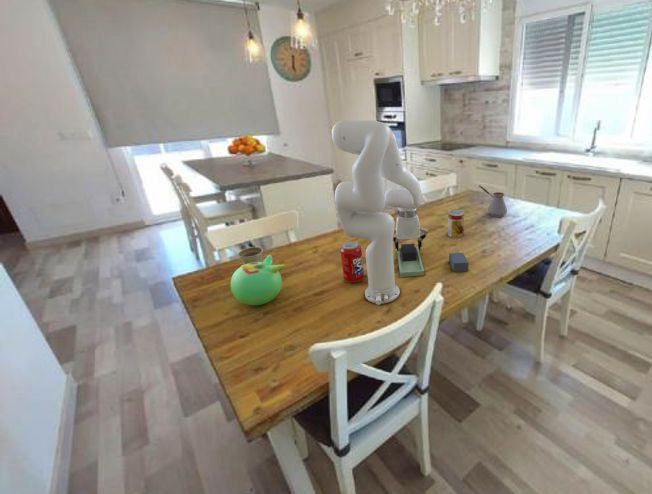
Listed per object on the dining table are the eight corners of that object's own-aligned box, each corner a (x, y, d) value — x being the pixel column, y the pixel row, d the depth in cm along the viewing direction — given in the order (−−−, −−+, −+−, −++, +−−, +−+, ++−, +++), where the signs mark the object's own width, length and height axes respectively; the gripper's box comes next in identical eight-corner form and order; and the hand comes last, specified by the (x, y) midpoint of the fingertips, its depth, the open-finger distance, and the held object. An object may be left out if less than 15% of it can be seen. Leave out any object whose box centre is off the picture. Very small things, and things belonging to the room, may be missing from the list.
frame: (424, 275, 128) (424, 270, 128) (400, 277, 127) (400, 272, 127) (417, 250, 149) (417, 246, 148) (397, 251, 148) (397, 247, 147)
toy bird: (229, 298, 116) (218, 262, 110) (276, 280, 127) (268, 247, 121) (246, 321, 104) (235, 282, 98) (296, 299, 115) (288, 263, 109)
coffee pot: (510, 215, 189) (513, 190, 183) (498, 219, 183) (500, 194, 176) (483, 206, 204) (484, 183, 198) (470, 210, 198) (472, 186, 192)
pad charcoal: (416, 260, 139) (416, 252, 137) (402, 261, 138) (402, 253, 136) (414, 251, 147) (414, 243, 145) (401, 252, 146) (400, 244, 145)
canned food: (466, 236, 162) (467, 214, 157) (452, 238, 160) (452, 216, 155) (458, 230, 169) (459, 209, 164) (445, 233, 166) (445, 211, 161)
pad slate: (467, 270, 131) (468, 262, 129) (453, 272, 130) (453, 263, 129) (462, 260, 139) (463, 252, 137) (449, 261, 138) (449, 253, 137)
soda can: (342, 275, 129) (338, 242, 123) (362, 272, 131) (358, 239, 125) (345, 285, 122) (341, 250, 116) (366, 281, 125) (362, 247, 118)
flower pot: (267, 262, 140) (263, 245, 136) (266, 273, 132) (262, 254, 128) (243, 267, 137) (239, 249, 133) (241, 277, 129) (236, 258, 125)
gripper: (386, 217, 130) (389, 254, 137) (429, 214, 132) (429, 251, 139) (386, 210, 137) (388, 246, 144) (426, 208, 138) (426, 244, 145)
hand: (408, 249), depth 141 cm, fingers open, 9 cm apart
